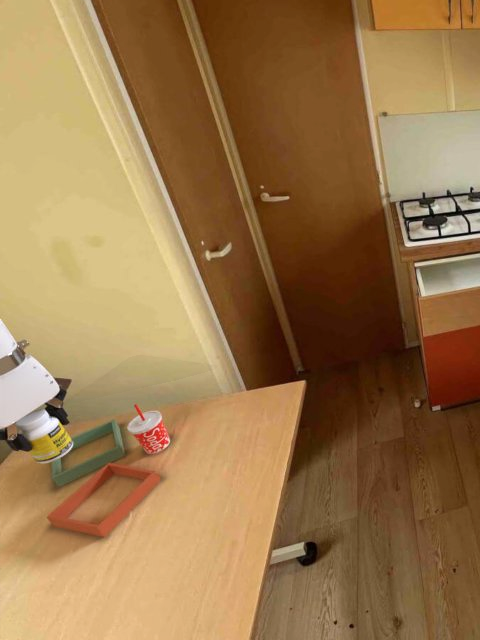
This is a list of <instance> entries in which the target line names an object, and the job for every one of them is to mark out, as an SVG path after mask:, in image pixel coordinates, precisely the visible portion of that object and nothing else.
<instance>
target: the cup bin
mask: <svg viewBox="0 0 480 640" xmlns="http://www.w3.org/2000/svg"><path fill="white" fill-rule="evenodd" d="M114 475H120V476H124V477H130V478H135V479H140V480H143V481H142V482H140V484H139V485H137V486H136V488H134V489H133V491H132V492H130V493H129V494H128V495H127V496H126V497H125V498H124V499H123V500H122V501H121V502H120V503H119V504H118V505H117V506H116V507H115V508H114V509H113V510H112V511H111V512H110V513H109V514H108V515H107V516H106V517H105V518H103V520H102V521H101V522H100V523H99V524H96V523H91V522H87V521H84V520H83V521H81V520H78V519H73V518H68V516H70V514H72V513H73V511H74V510H76V509H77V508H78V507H80V505H81V504H82V503H84V501H86V500H87V499H88V498H89V497H90V496H91V495H92V494H93V493H95V492H96V491H97V490H98V489H99V488H100V487H102V485H103V484H104V483H106V482H107V481H108V480H109V479H110V478H111V477H112V476H114ZM159 482H161V477H160V476H159V474H158V473H157V471H156V470H150V469H147V468H141V467H135V466H130V465H124V464H119V463H114V462H110V463H108V464H106V465H103V466H102V468H100V469H99V470H98V471H97V472H96V473H95V474H94V475H93V476H91V477H90V478H89V479H88V480H87V481H86V482H85V483H84V484H82V485H81V486H80V487H79V488H78V489H77V490H76V491H74V492H72V494H71V495H70V496H69V497H67V498H66V499H65V500H64V501H63V502H61V504H59V505H58V506H57V507H56V508H55V509H54V510H52V511H51V512H50V513H49V514H48V515H47V516H46V519H47V520H48V521H49V522H50V524H51V525H52V526H53V527H56V528H61V529H65V530H70V531H74V532H80V533H84V534H89V535H94V536H97V537H102V538H105V537H106V536H107V535H108V534H109V533H110V532H111V531H112V530H113V529H114V528H115V527H116V526H117V525H118V524H119V523H120V522H121V521H122V520H123V519H124V518H125V517H126V516H127V515H128V514H129V513H130V512H131V511H132V510H133V509H134V508H135V506H137V505H138V504H139V503H140V502H141V501H142V500H143V499H144V498H145V497H146V496H147V495H148V493H150V492H151V491H152V489H153V488H154V487H155V486H157V484H159Z"/></svg>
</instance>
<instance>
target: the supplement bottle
mask: <svg viewBox="0 0 480 640" xmlns="http://www.w3.org/2000/svg"><path fill="white" fill-rule="evenodd" d="M16 428H18V430H19V431H18V432H17V433H18V434H22V435H23V436H24V437H25V438H26V439H27V441H28V442H29V443H30V445H31V446H32V447H33V448H32V450H31V451H29V452H28V453H29V454H30V456H31V457H32V458H33V459H34V461H35V462H36V463H38V464H48V463H51V462H52V461H55V460H57V459H59V458H61V459H62V458H63V457H64V456H65V455H67V454H68V453H69V452H70V450H71V448H72V447H73V441H72V439H71V438H72V437H70V435H69V433H68V432H67V430H66V429H65V427H64V425H62V424H61V423H60V421H59V420H58V419H57V418H56V417H54V416H49V414H48V413H47V412H46V410H45V408H39V409H38V408H37V409H35V410H33V411H32V412H30V413H29V414H27V415H26V416H24V417H23V418H21V419H19V420H18V421H16ZM71 451H72V450H71Z"/></svg>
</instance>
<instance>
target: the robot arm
mask: <svg viewBox="0 0 480 640" xmlns="http://www.w3.org/2000/svg"><path fill="white" fill-rule="evenodd" d="M30 345H31V344H30V342H29V341H28V340H26V339H22V340H20V341H16V339H15V338H14V337H13V335H12V334H11V332H10V330H9V329H8V327H7V326H6V324H5V323H4V321H3V320H2V319H1V318H0V441H4V442H5V443H6V444H7V445H8V447H10V449H11V450H12V451H14V452H20V451H23V452H27V453H29V451H31V450H32V448H33V447H32V446H31V445H30V443H29V442H28V441H27V439H26V438H25V437H24V436H23V435H22V434H18V433H19V432H18V430H17V425H16V421H18V420H19V419H21V418H23V417H24V416H26V415H27V414H29V413H30V412H32V411H34V410H38V408H39V407H41V406H43V405H44V406H46V407H44V410H46V412H47V413H48V414H49V416H54V417H56V418H57V419H58V420H59V421H60V423H61V424H62V426H67V425H69V424H70V421H69V419H68V417H69V415H68V414H67V412H66V409H65V408H64V405H65V402H64V400H65V398H66V396H67V390H68V389H69V388H70V386H71V383H72V379H71V378H67V377H60V376H59V377H58V376H52V374H51V373H50V372H49V371H48V370H47V368H46V367H44V366H43V365H42V364H41V362H39V361H38V359H36V358H35V357H34V356H32V355H31V354H29V353H26V351H25V349H26V347H29V346H30Z"/></svg>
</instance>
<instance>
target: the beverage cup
mask: <svg viewBox="0 0 480 640" xmlns="http://www.w3.org/2000/svg"><path fill="white" fill-rule="evenodd" d="M133 405H134V406H133V407H134V408H135V411H136V412H137V413H138V415H137V416H136V417H134V418H133V419H131V420H130V421H129V423H128V424H127V426H126V427H127V431H128V432H129V433H130V434H131V435H133V436H134V438H135V439H136V441H137V442H138V443H139V445H140V446H141V447H142V449H143V450H144V451H145V452H146V453H147V454H149V455H151V454H152V455H153V454H158V453H159V452H161V451H163V450H164V449H166V448H167V447H168V446H169V445H170V443H171V437H170V436H169V433H168V431H167V429H166V427H165V426H166V425H165V424H164V421H163V416H162V413H161V412H160V411H159V410H150V411H145V412H142V411H141V409H140V407H139V405H138V404H136V403H135V404H133Z"/></svg>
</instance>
